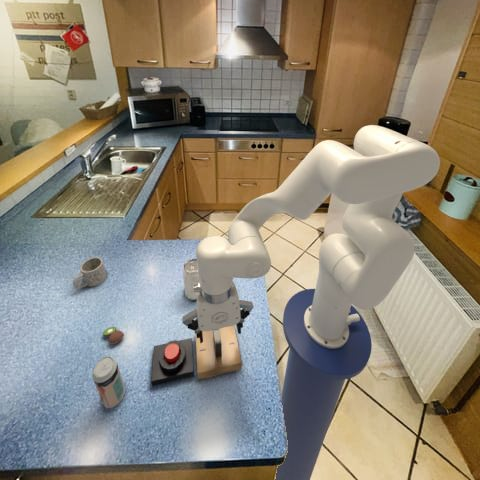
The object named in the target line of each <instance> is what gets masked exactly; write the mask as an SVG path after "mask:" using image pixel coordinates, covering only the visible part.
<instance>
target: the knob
mask: <svg viewBox="0 0 480 480" xmlns="http://www.w3.org/2000/svg"><path fill="white" fill-rule="evenodd" d="M213 340H214V348H215V356H216V357H219V356H222V343H221V337H220V330H219V329H216V330H213Z"/></svg>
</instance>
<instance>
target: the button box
mask: <svg viewBox="0 0 480 480" xmlns="http://www.w3.org/2000/svg"><path fill="white" fill-rule="evenodd" d="M172 343H175V344H177V345H178V347H179V352H180V355H179V358H178V359H177V360H176V361H175V362H173V363H168V362H167V361H166V359H165V354H164V352H165V349H166V347H167V346H168V345H170V344H172ZM193 345H194V344H193V338H192V337H190V338H186V339H185V338H184V339H181V340H177V339H174V340H169V341H167V342H166V343H161V344H157V345H154V346H153V353H152V363H151V365H152V366H151V375H150V376H151V377H150V383H151V386H152V387H155V386H160V385H164V384H168V383H172V382H176V381H181V380H184V379H188V378H193V377H195V370H194V348H193V347H194V346H193Z"/></svg>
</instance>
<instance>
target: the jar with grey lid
mask: <svg viewBox="0 0 480 480" xmlns="http://www.w3.org/2000/svg"><path fill="white" fill-rule="evenodd" d="M121 374H122V373H121V370H120V368H119V365H118V362H117V359H116V358H115V357H113V356H104V357H102V358H101V359H99V360H98V361H97V363H96V364H95V365H94V367H93V370H92V373H91V375H92V380H93V383H94V386H95V388H96V390H97V392H98V395H99V397H100V400H101V403H102V405H103V406H104V407H105V408H107V409H111V408H114V407H116V406H117V405H119V404H120V403H121V401H122V400H123V398H124V396H125V393H126V388H125V384H124V381H123V377H122V375H121Z"/></svg>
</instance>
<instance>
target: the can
mask: <svg viewBox="0 0 480 480" xmlns="http://www.w3.org/2000/svg"><path fill="white" fill-rule="evenodd" d="M182 277H183V279H182V280H183V287H184V294H185V295H184V296H185V297H186V298H187V299H189V300H193V301H195V300H197V294H198V292H194V289H193V286H195V285H197V284H198V283H199V275H198V266H197V258H190V259H188V260H186V261H185V262H184V264H183V268H182Z"/></svg>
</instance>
